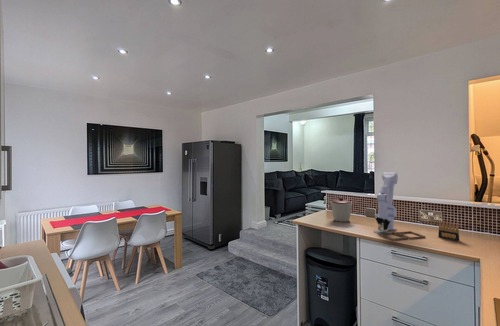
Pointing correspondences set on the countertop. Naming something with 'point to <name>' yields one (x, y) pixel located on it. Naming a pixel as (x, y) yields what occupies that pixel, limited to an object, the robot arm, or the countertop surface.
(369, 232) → the countertop surface
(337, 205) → the canister
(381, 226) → the cube
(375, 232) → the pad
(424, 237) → the tray far
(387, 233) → the tray near
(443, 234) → the ammunition clip
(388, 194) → the robot arm
